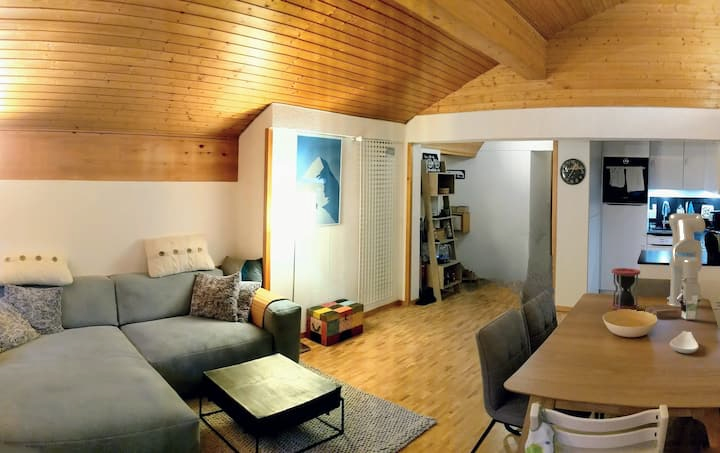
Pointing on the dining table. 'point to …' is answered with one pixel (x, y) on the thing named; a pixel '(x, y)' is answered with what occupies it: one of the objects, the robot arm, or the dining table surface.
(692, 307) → the syrup box
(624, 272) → the hourglass
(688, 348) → the spoon rest
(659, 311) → the walnut block
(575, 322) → the dining table surface
